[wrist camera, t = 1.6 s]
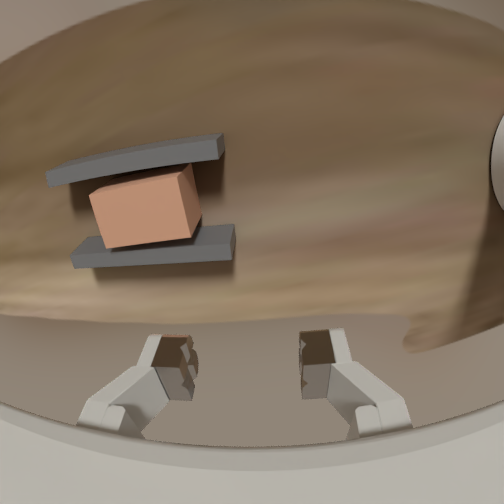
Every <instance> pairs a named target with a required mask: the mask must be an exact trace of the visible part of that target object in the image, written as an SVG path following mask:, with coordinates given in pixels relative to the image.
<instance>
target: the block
mask: <svg viewBox="0 0 504 504" xmlns="http://www.w3.org/2000/svg"><path fill="white" fill-rule="evenodd" d="M89 198H90V201H91V204H92V208H93V211H94V214H95V217H96V220H97V223H98V226H99V229H100V232H101V235H102V238H103V241H104V244H105V247H106V249H107V248H114V247H121V246H129V245H136V244H143V243H151V242H159V241H166V240H174V239H182V238H190V237H191V236H192V234H193V232H194V230H195V228H196V226H197V224H198V222H199V220H200V218H201V216H202V212H201V208H200V203H199V199H198V194H197V189H196V184H195V180H194V175H193V170H192V165H191V163H186V164H181V165H176V166H170V167H165V168H160V169H155V170H150V171H146V172H141V173H136V174H132V175H127V176H123V177H119V178H115V179H112V180H110V181H109V182H108V183H106V184H105V185H103V186H102V187H100V188H99V189H97V190H96V191H94V192H93V193H91V194H90V195H89Z"/></svg>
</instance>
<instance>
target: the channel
mask: <svg viewBox="0 0 504 504" xmlns="http://www.w3.org/2000/svg"><path fill="white" fill-rule="evenodd" d="M224 151H225V145H224V136H223V133H219V134H210V135H202V136H195V137H188V138H181V139H174V140H168V141H161V142H156V143H150V144H144V145H139V146H134V147H128V148H123V149H119V150H114V151H109V152H105V153H100V154H96V155H91V156H87V157H83V158H79V159H75V160H71V161H68V162H65V163H63V164H61V165H59V166H57V167H55V168H53V169H51V170H49V171H47V172H45V174H46V178H47V182H48V186H49V188H50V187H54V186H59V185H63V184H67V183H72V182H77V181H81V180H86V179H91V178H96V177H101V176H107V175H112V174H117V173H123V172H129V171H135V170H141V169H147V168H154V167H160V166H167V165H175V164H182V163H190V162H198V161H207V160H216V159H219V158H220V156H221V155H222V154H223V152H224ZM235 241H236V235H235V228H234V224H231V225H218V226H205V227H196V228H195V230H194V232H193V234H192V236H191V237H190V238H182V239H174V240H166V241H159V242H151V243H143V244H136V245H129V246H121V247H114V248H107V249H106V247H105V244H104V241H103V238H102V236H96V237H88V238H87V239H86V240H85V241H84V242H83V243H82V244H81V245H79V247H78V248H77V249H76V250H75V251H74V252H73V253H72V254H71V255H70V258H71V260H72V263H73V266H74V269H77V268H96V267H115V266H134V265H152V264H169V263H187V262H204V261H221V260H232V257H233V252H234V246H235Z"/></svg>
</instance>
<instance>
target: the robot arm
mask: <svg viewBox="0 0 504 504" xmlns="http://www.w3.org/2000/svg"><path fill="white" fill-rule="evenodd" d="M491 175H492V183H493V188H494V192H495V195H496V198H497V200H498V202H499V204H500V206H501V207H502V209H503V210H504V116H503V118H502V120H501V122H500V124H499V126H498V129H497V132H496V135H495V138H494V143H493V148H492V157H491ZM299 345H300V348H299V368H300V375H301V390H302V399H316V398H327V400H328V401H329V402H330V403H331V404H332V406H334V408H335V409H336V410H337V411H338V412H339V413H340V415H341V416H342V417H343V418H344V419H345V420H346V421H347V422H348V424H349V425H350V429H349V432H348V435H347V438H346V440H345V441H337V442H328V443H318V444H307V445H292V446H271V447H270V446H267V447H231V446H230V447H229V446H207V445H206V446H205V445H192V444H180V443H170V442H161V441H154V440H147V439H145V437H144V436H143V435H142V434H141V431H142V430H143V429H144V428H145V427H146V425H148V424H149V422H150V421H151V420H152V419H153V418H154V417H155V416H156V415H157V414H158V413H159V412H160V411H161V410H162V409H163V408H164V406H165V405H166V404H167V403H168V402H169V400H190V401H192V397H193V393H194V388H195V385H194V382H193V380H194V379H195V378H196V377H197V374H198V357H197V353H196V351H194V350H193V349H192V348H193V340H192V337H191V336H190V335H156V334H151V335H150V336H148V338H147V341H146V343H145V346H144V348H143V350H142V353H141V356H140V358H139V360H138V363H137V365H136V366H132V367H131V368H129V369H128V370H127V371H125V372H124V373H123V374H121V375H120V376H118V377H117V378H116V379H114V380H113V381H112V382H110V383H109V384H108V385H106V386H105V387H104V388H102V389H101V390H100V391H99V392H97V393H96V394H94V395H93V396H92V397H90V398H89V399H88V400H87V401H86V404H85V406H84V408H83V410H82V413H81V415H80V417H79V420H78V422H77V424H76V426H75V425H71V424H68V423H64V422H60V421H56V420H53V419H50V418H46V417H43V416H40V415H36V414H34V413H31V412H28V411H25V410H22V409H19V408H16V407H13V406H11V405H8V404H6V403H3V402H0V504H504V400H502V401H499V402H497V403H494V404H492V405H489V406H486V407H483V408H480V409H477V410H475V411H472V412H469V413H466V414H462V415H459V416H456V417H453V418H449V419H446V420H442V421H439V422H435V423H432V424H428V425H424V426H420V427H416V428H413V426H412V423H411V420H410V416H409V413H408V410H407V407H406V404H405V401H404V398H403V397H401V396H400V395H399V394H398V393H396V392H395V391H394V390H392V389H391V388H390V387H389V386H387V385H386V384H385V383H384V382H382V381H381V380H380V379H378V378H377V377H376V376H375V375H373V374H372V373H371V372H370V371H368V370H367V369H366V368H365V367H363V366H362V365H361V364H360V363H358V362H357V361H355V362H353V361H352V358H351V354H350V351H349V346H348V343H347V339H346V335H345V332H344V329H343V328H334V329H326V330H314V331H301V332H299Z"/></svg>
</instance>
